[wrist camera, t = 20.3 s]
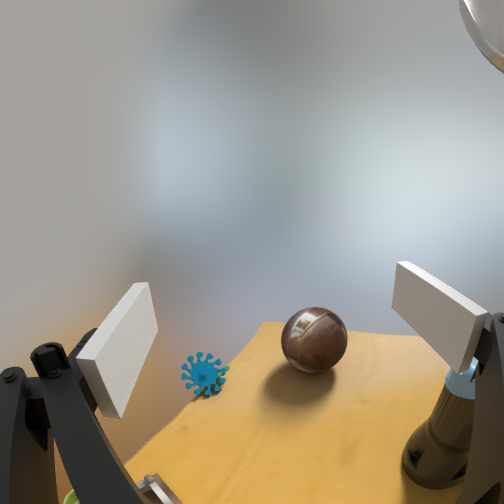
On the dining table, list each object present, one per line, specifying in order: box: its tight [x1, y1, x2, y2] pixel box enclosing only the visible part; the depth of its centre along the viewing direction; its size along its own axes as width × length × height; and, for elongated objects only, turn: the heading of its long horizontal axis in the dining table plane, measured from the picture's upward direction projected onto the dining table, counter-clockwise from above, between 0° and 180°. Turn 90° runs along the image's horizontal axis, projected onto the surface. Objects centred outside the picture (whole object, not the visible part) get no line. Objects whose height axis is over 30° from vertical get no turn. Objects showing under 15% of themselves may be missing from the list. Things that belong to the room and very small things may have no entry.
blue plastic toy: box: [181, 352, 230, 396], centre depth 60 cm, size 11×6×10 cm
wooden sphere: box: [281, 307, 347, 373], centre depth 62 cm, size 15×15×15 cm
